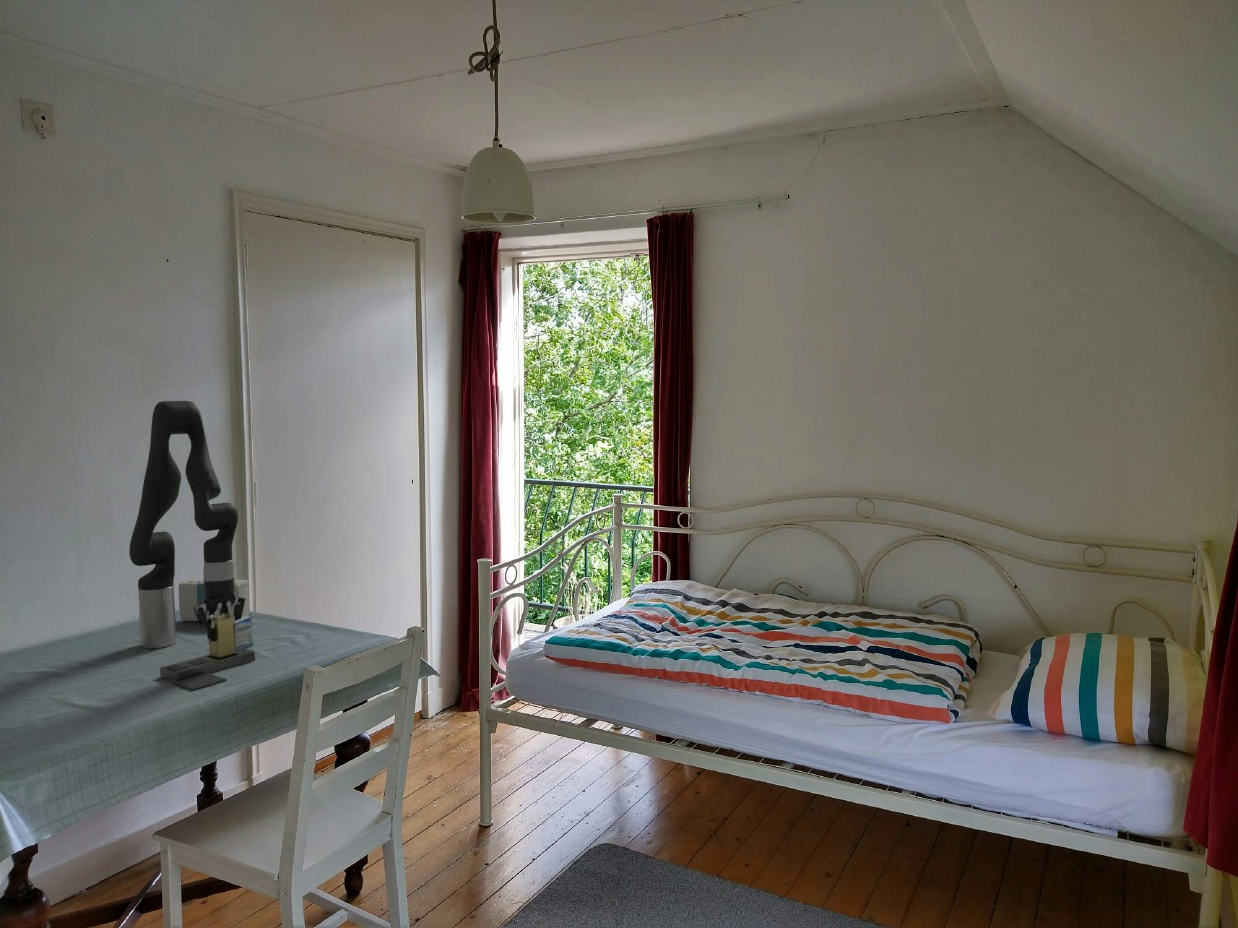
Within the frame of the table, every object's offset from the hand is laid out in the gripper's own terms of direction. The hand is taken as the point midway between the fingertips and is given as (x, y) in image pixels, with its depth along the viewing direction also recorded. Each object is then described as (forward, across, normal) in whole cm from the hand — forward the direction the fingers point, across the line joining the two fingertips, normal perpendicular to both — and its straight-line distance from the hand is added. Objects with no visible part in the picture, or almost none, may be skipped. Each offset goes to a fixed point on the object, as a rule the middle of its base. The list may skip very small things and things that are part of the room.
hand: (221, 638), depth 235 cm
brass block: (+4, 0, 0) cm, 4 cm away
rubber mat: (+7, +12, +9) cm, 17 cm away
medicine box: (+8, -11, -10) cm, 16 cm away
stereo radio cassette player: (+8, -26, -45) cm, 52 cm away
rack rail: (+7, +4, 0) cm, 8 cm away
